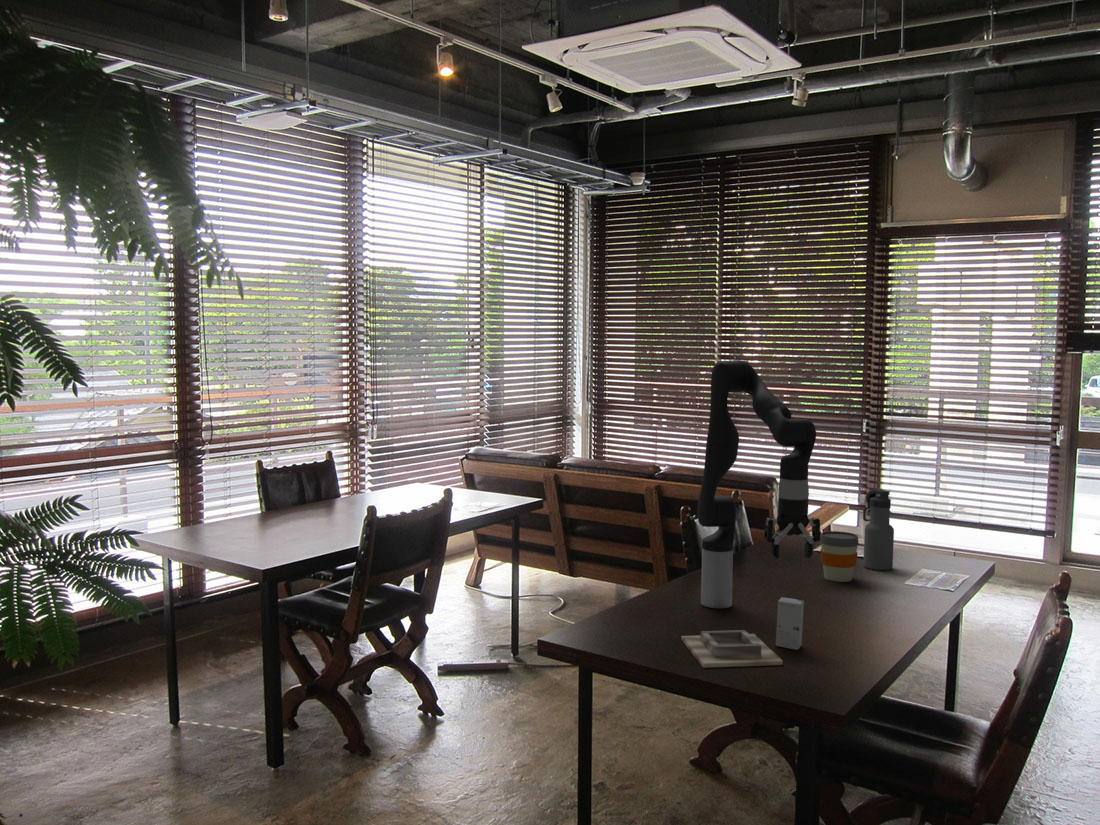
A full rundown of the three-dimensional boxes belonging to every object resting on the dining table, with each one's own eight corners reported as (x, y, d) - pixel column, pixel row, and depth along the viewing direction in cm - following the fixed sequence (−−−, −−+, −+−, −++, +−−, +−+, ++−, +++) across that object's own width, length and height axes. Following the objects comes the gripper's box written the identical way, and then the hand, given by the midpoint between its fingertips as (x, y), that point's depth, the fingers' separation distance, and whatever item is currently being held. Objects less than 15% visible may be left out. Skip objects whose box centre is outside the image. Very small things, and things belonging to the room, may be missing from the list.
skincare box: (775, 646, 218) (776, 600, 218) (779, 641, 222) (780, 596, 222) (799, 650, 216) (800, 604, 215) (803, 645, 219) (804, 599, 219)
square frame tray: (681, 639, 223) (681, 626, 223) (753, 637, 225) (754, 624, 225) (703, 667, 203) (703, 653, 203) (782, 664, 205) (782, 650, 205)
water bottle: (856, 565, 304) (859, 489, 302) (876, 562, 308) (879, 487, 306) (878, 572, 295) (881, 493, 293) (898, 569, 299) (901, 491, 297)
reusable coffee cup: (862, 583, 280) (864, 539, 279) (825, 583, 280) (826, 538, 279) (850, 573, 292) (851, 531, 291) (814, 573, 293) (815, 530, 292)
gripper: (813, 493, 221) (811, 554, 222) (761, 493, 219) (759, 554, 220) (826, 498, 213) (824, 560, 214) (772, 498, 212) (770, 561, 213)
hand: (791, 557), depth 217 cm, fingers open, 8 cm apart
